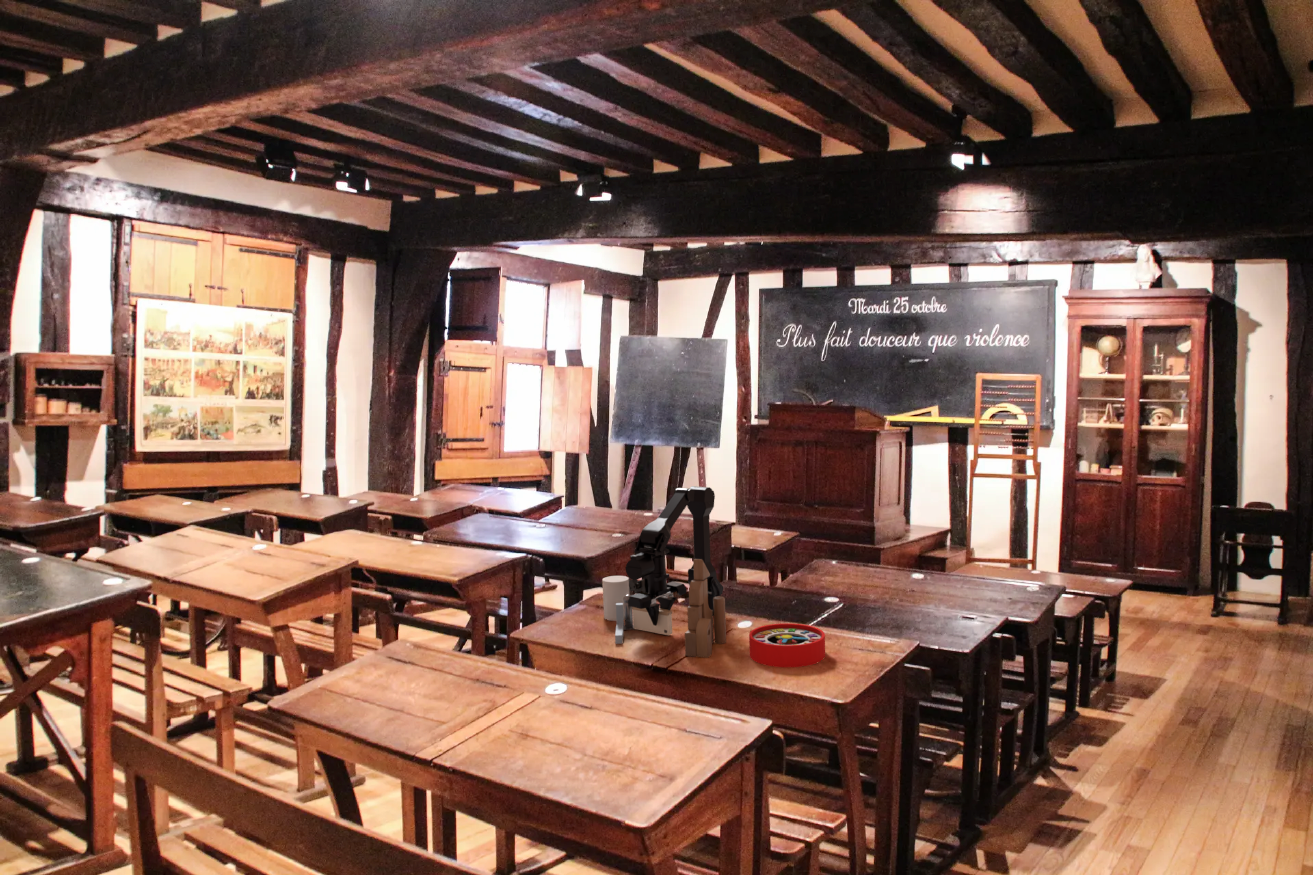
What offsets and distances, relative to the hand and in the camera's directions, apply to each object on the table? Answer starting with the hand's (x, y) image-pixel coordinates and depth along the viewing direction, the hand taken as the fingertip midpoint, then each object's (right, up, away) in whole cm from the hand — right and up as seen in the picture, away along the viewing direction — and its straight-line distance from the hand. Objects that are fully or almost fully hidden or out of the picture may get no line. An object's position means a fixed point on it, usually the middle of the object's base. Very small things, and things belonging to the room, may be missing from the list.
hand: (659, 623), depth 282 cm
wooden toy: (+13, -4, -14) cm, 20 cm away
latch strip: (-11, -4, -1) cm, 12 cm away
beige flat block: (-2, -3, +2) cm, 4 cm away
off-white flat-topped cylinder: (-13, -2, +20) cm, 24 cm away
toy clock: (+34, -5, -22) cm, 41 cm away
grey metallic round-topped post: (-9, -3, +8) cm, 12 cm away
